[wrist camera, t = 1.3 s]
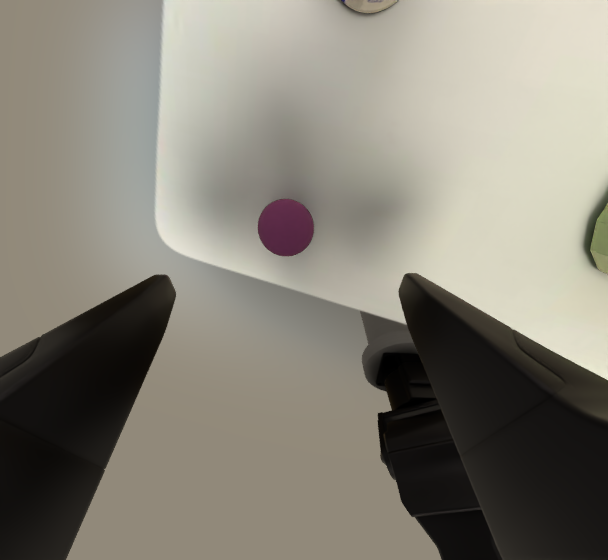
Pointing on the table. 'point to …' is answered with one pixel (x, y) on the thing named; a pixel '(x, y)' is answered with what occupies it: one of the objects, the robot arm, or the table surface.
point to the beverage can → (369, 5)
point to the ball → (285, 227)
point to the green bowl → (601, 241)
